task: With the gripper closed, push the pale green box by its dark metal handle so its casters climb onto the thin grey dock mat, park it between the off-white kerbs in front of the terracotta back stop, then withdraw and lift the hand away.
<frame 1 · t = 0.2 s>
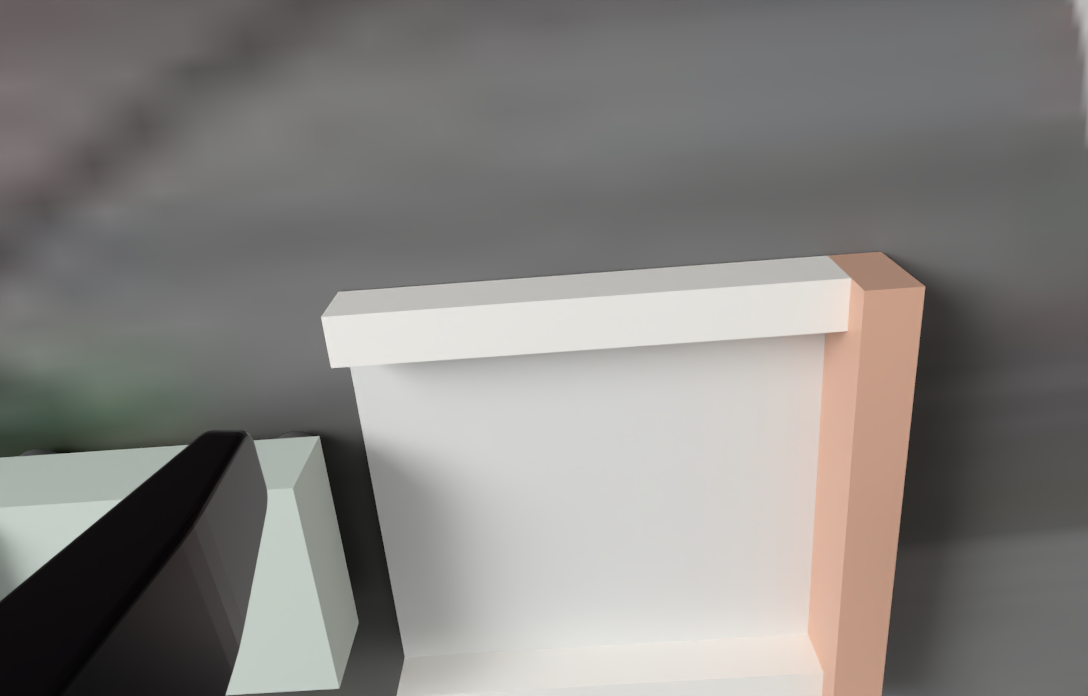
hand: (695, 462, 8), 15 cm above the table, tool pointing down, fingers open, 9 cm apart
pale green box: (197, 521, 27), on the table
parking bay: (594, 496, 27), on the table
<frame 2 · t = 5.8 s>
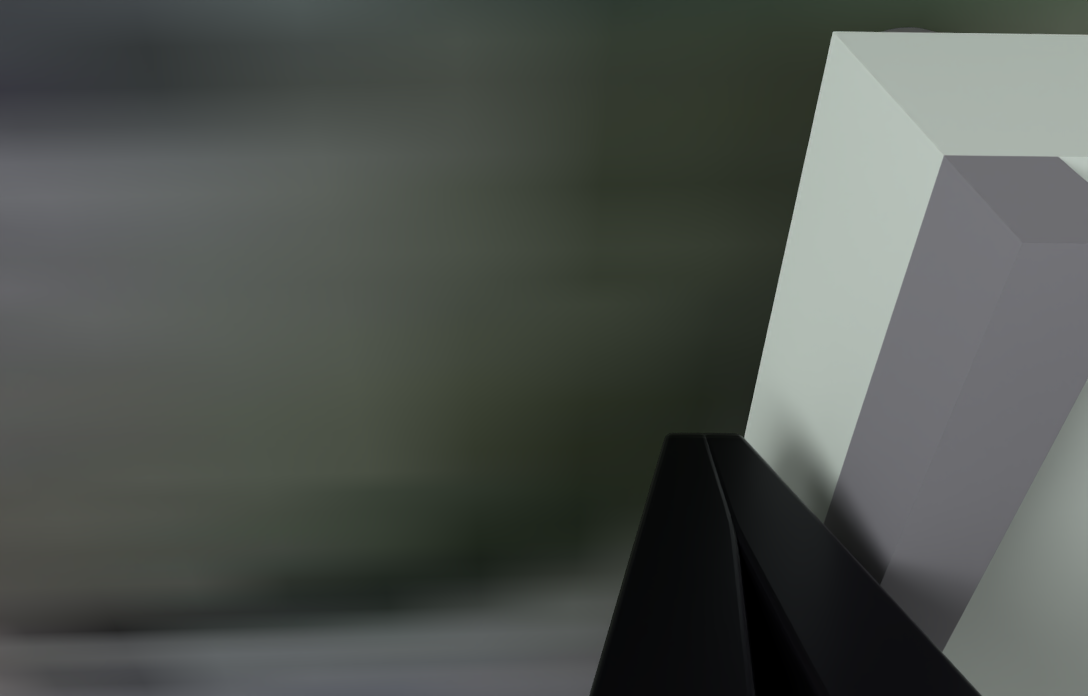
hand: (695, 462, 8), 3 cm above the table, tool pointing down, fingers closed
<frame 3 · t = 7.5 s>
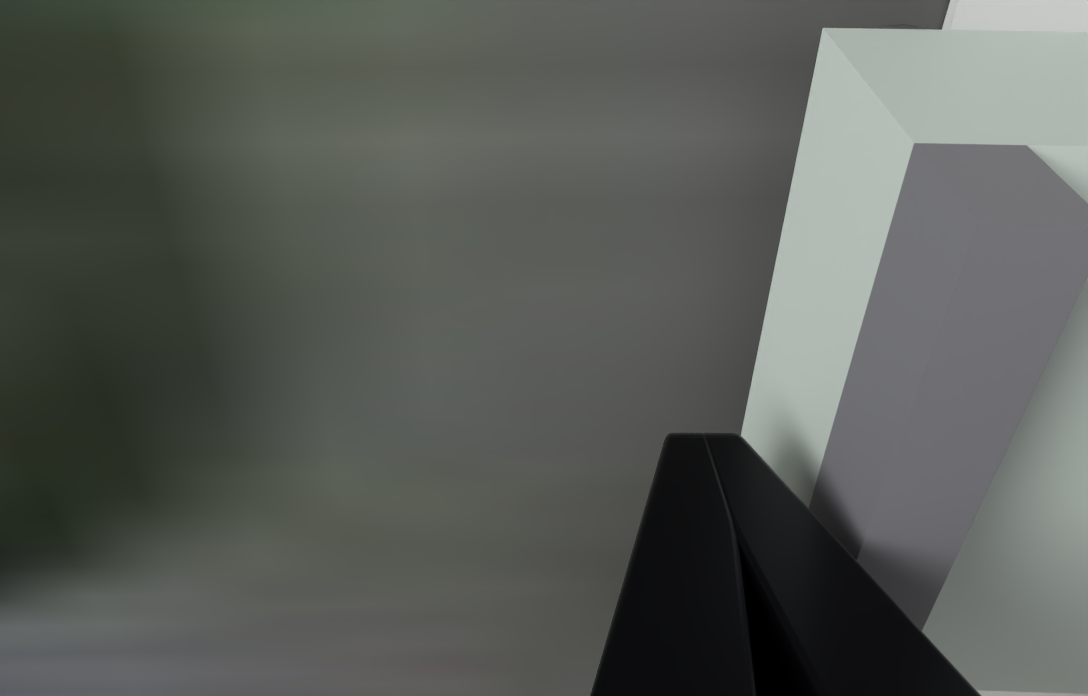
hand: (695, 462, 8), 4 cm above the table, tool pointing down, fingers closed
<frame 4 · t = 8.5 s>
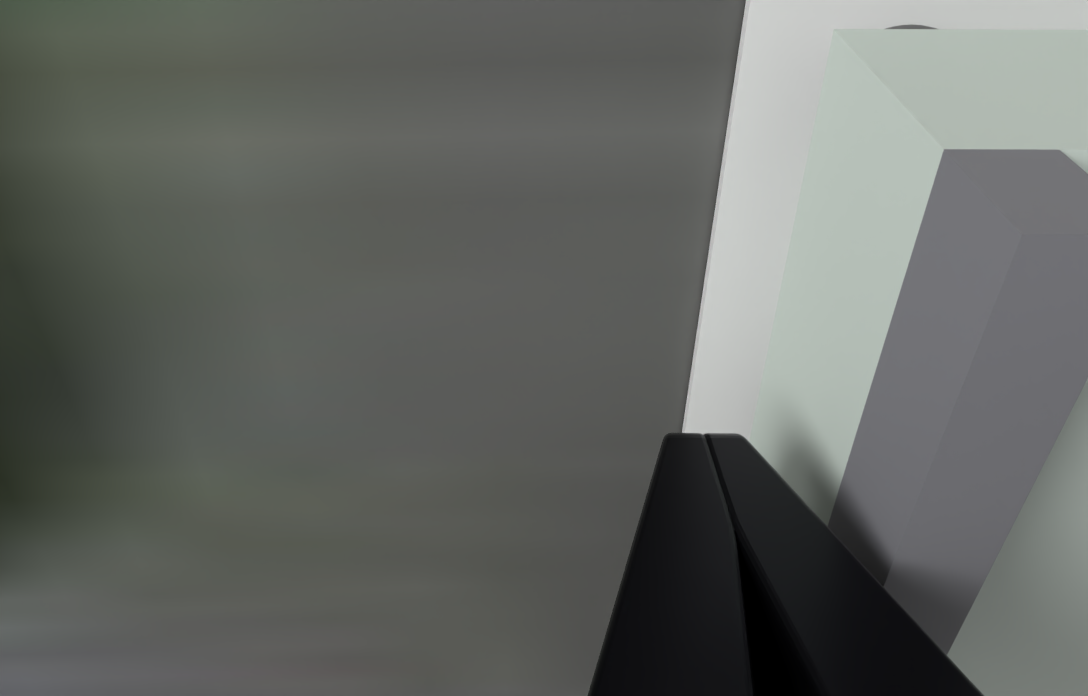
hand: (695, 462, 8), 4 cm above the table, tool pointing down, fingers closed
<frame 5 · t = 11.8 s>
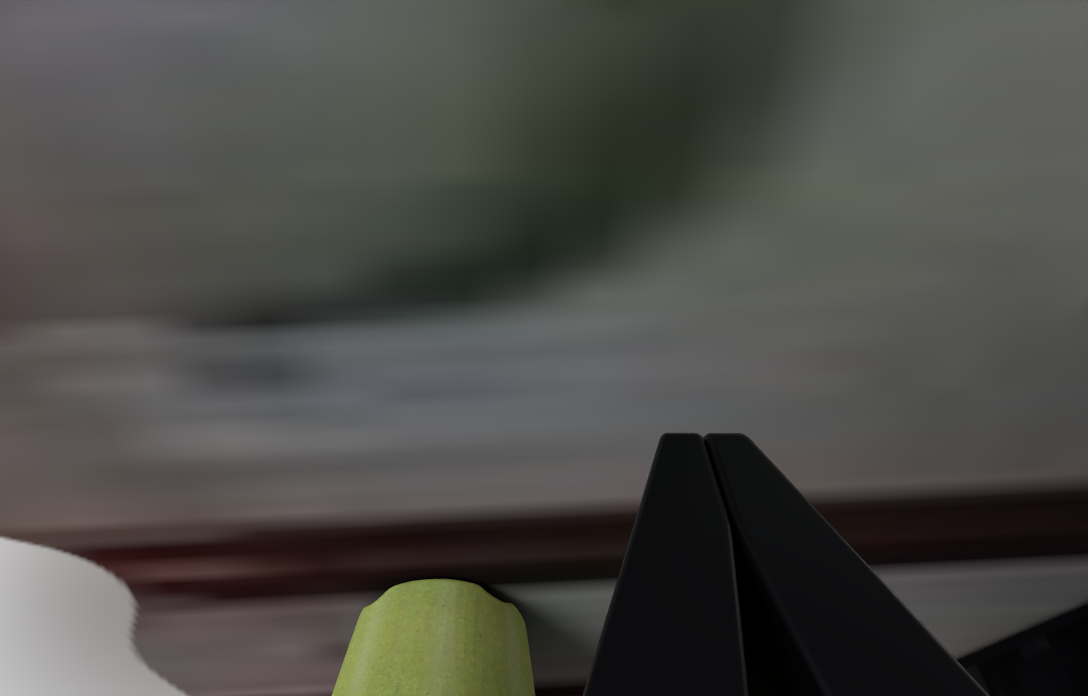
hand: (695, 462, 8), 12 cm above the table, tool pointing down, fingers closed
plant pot: (445, 621, 31), on the table
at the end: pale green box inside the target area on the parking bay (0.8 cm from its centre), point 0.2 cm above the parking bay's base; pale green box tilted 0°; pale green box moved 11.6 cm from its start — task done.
